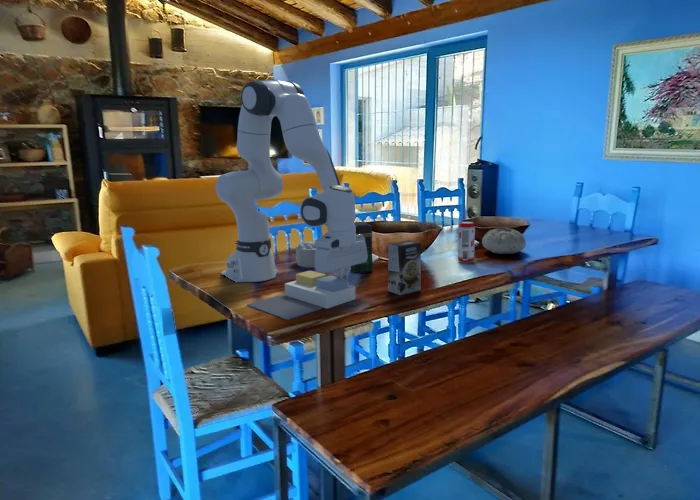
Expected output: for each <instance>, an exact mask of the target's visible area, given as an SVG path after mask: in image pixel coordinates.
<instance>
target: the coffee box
mask: <svg viewBox="0 0 700 500" xmlns="http://www.w3.org/2000/svg"><path fill="white" fill-rule="evenodd" d="M387 244H388V245H387V247H388V250H387V252H388V256H387V257H388V259H387V267H388V268H387V269H388V270H387V276H388V277H387V281H388V282H387V285H388V286H387V291H388V292H389V293H393V294H396V295H398V296H403V295H407V294H411V293H414V292H419V291H421V286H422V285H421V284H422V283H421V281H422V280H421V279H422V278H421V273H422V272H421V269H422V265H421V264H422V242H420V241H417V240H416V241H415V240H409V239H408V240H402V241H395V242H390V243H387Z"/></svg>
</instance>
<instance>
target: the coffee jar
mask: <svg viewBox="0 0 700 500" xmlns="http://www.w3.org/2000/svg"><path fill="white" fill-rule="evenodd" d="M354 224H355V227H356V235H359V234H362V235H363V236H364V237H365V243H366V247H367V256H368V258H367V261H366V262H364V263H360V264H356V265H353V266H350V270H352V272H354V273H361V274H367V273H369V272H372V271H373V267H374V265H373V227H372V225H371V224H368V223H366V222H364V221H354Z"/></svg>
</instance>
